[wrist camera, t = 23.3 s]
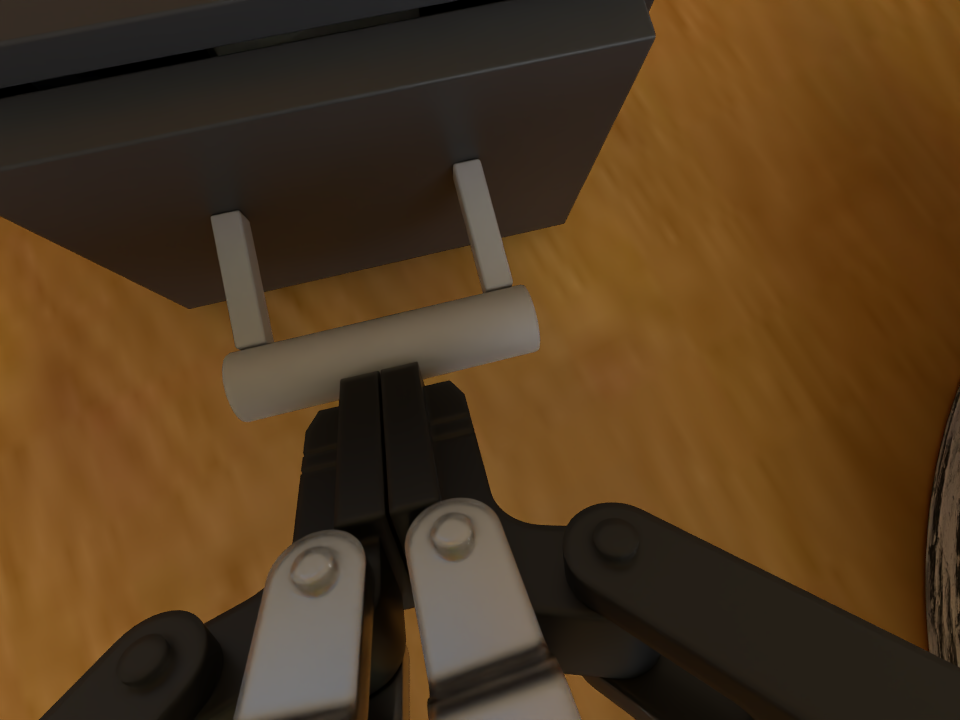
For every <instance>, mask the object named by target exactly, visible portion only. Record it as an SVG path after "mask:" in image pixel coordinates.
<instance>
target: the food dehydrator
mask: <svg viewBox="0 0 960 720" xmlns="http://www.w3.org/2000/svg"><path fill="white" fill-rule="evenodd" d="M926 614H927V630H928V642H929V652H930V653H932V654H934V655H936V656H938V657H940V658H942V659H944V660H946V661H948V662H950V663H952V664H954V665H956V666H958V667H960V385H959V388H958V391H957V394H956V396H955V399H954V402H953V405H952V408H951V411H950V414H949V418H948V421H947V425H946V428H945V432H944V435H943V439H942V443H941V448H940V452H939V457H938V461H937V465H936V471H935V477H934V482H933V488H932V495H931V503H930V511H929V521H928V532H927V548H926Z"/></svg>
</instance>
